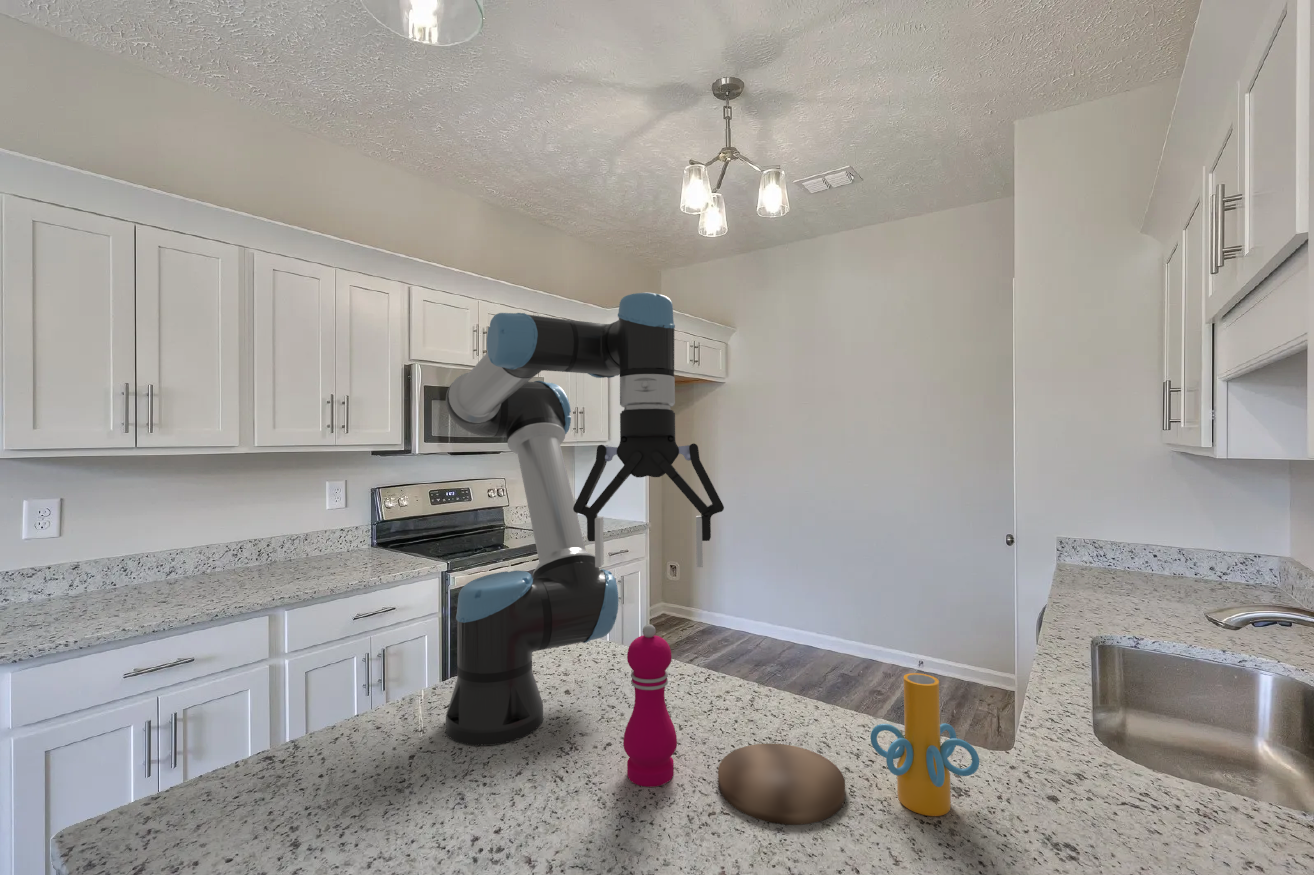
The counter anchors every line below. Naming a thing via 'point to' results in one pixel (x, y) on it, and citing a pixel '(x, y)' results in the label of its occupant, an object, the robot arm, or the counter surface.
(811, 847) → the counter surface
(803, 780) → the walnut board
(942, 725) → the cylinder
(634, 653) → the pepper mill
